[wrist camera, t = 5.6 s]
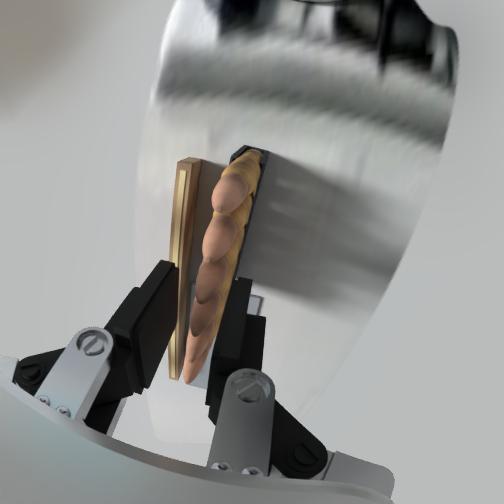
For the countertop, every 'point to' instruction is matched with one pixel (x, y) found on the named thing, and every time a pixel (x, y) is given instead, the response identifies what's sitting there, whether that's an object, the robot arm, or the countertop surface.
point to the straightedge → (182, 251)
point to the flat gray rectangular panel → (203, 376)
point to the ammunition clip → (222, 251)
